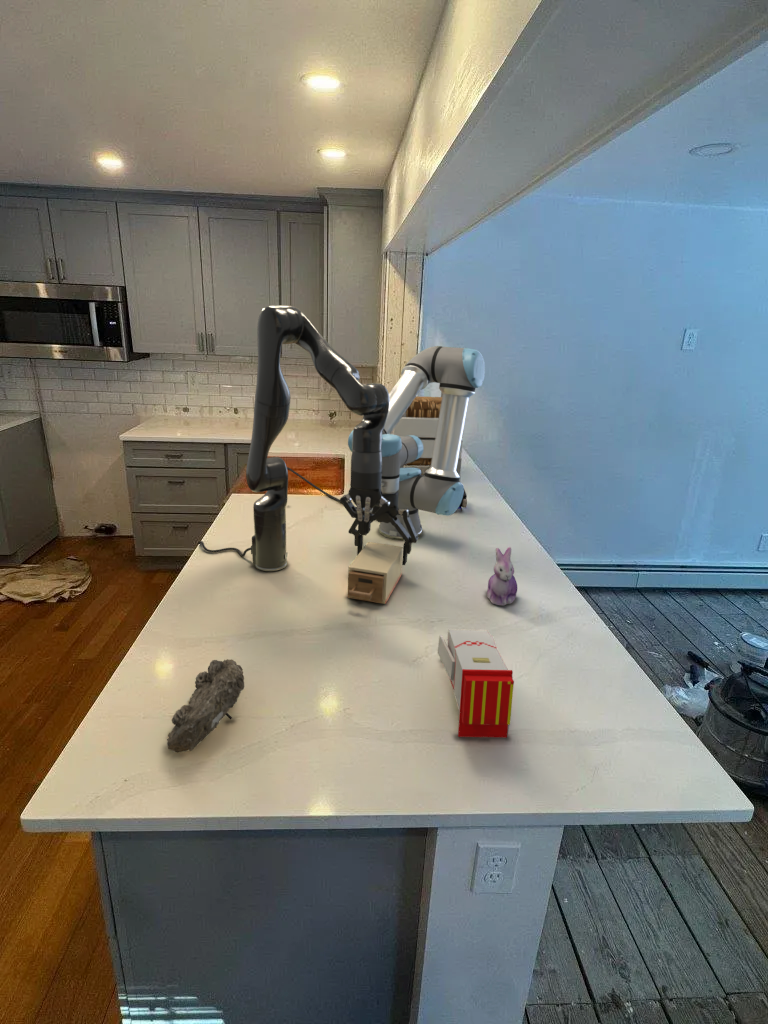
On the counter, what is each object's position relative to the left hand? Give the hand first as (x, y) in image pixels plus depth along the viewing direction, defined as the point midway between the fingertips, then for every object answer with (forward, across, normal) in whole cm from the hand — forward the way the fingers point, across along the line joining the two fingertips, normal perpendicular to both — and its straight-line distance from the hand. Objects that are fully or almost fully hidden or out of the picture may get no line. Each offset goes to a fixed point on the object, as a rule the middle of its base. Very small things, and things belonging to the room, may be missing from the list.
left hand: (364, 534), depth 143 cm
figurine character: (+21, +12, +90) cm, 93 cm away
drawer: (+20, 0, +8) cm, 22 cm away
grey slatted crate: (+21, -12, +134) cm, 136 cm away
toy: (+21, +32, -26) cm, 46 cm away
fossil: (+21, -14, -49) cm, 56 cm away
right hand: (+16, 0, +19) cm, 25 cm away
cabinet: (+21, 0, +13) cm, 25 cm away
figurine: (+21, +35, +18) cm, 45 cm away
